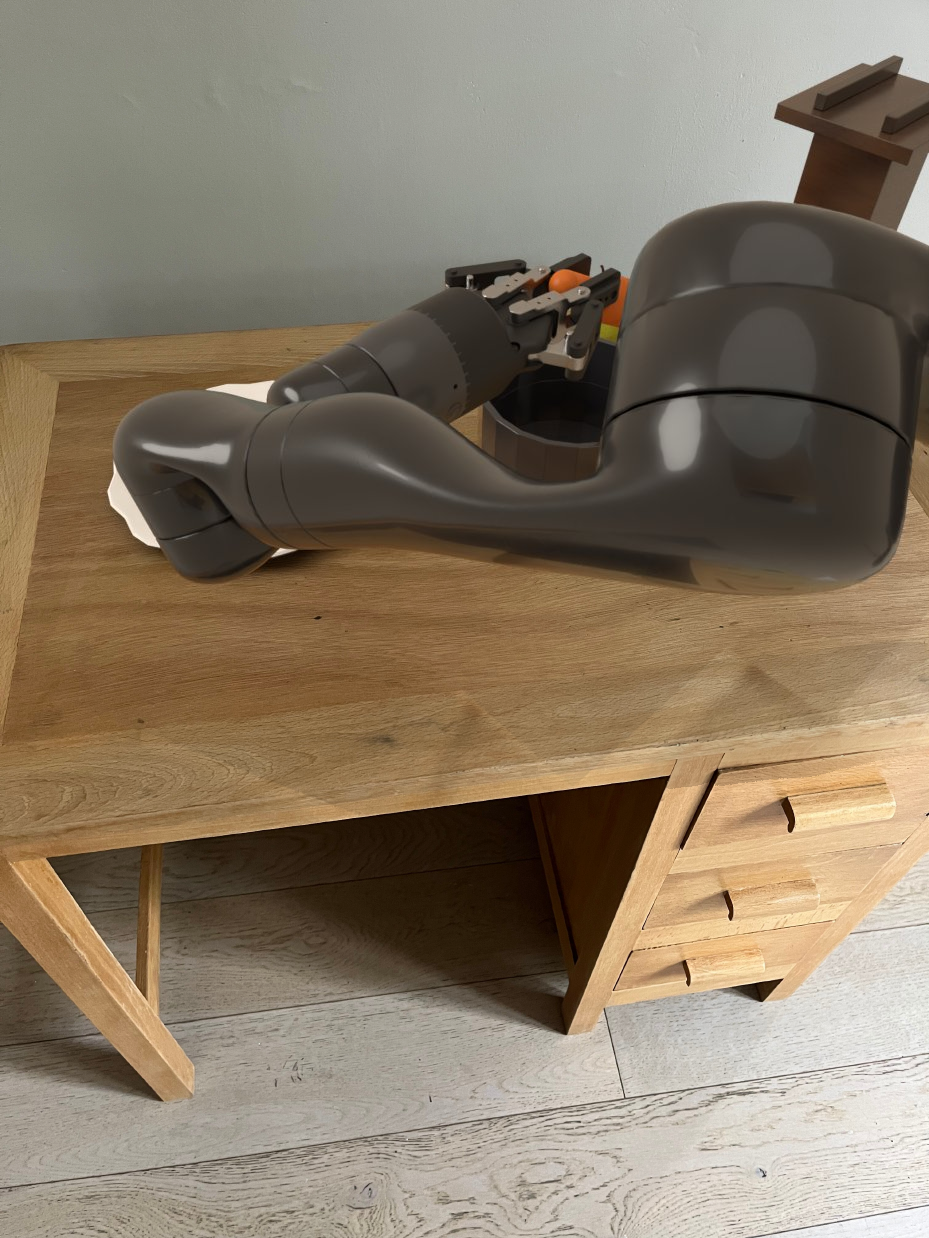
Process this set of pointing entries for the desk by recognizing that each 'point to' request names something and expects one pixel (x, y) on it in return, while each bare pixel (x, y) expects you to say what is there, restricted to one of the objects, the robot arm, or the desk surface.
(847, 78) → the stand
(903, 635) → the desk surface
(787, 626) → the desk surface
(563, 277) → the carrot
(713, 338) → the robot arm
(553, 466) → the pot
